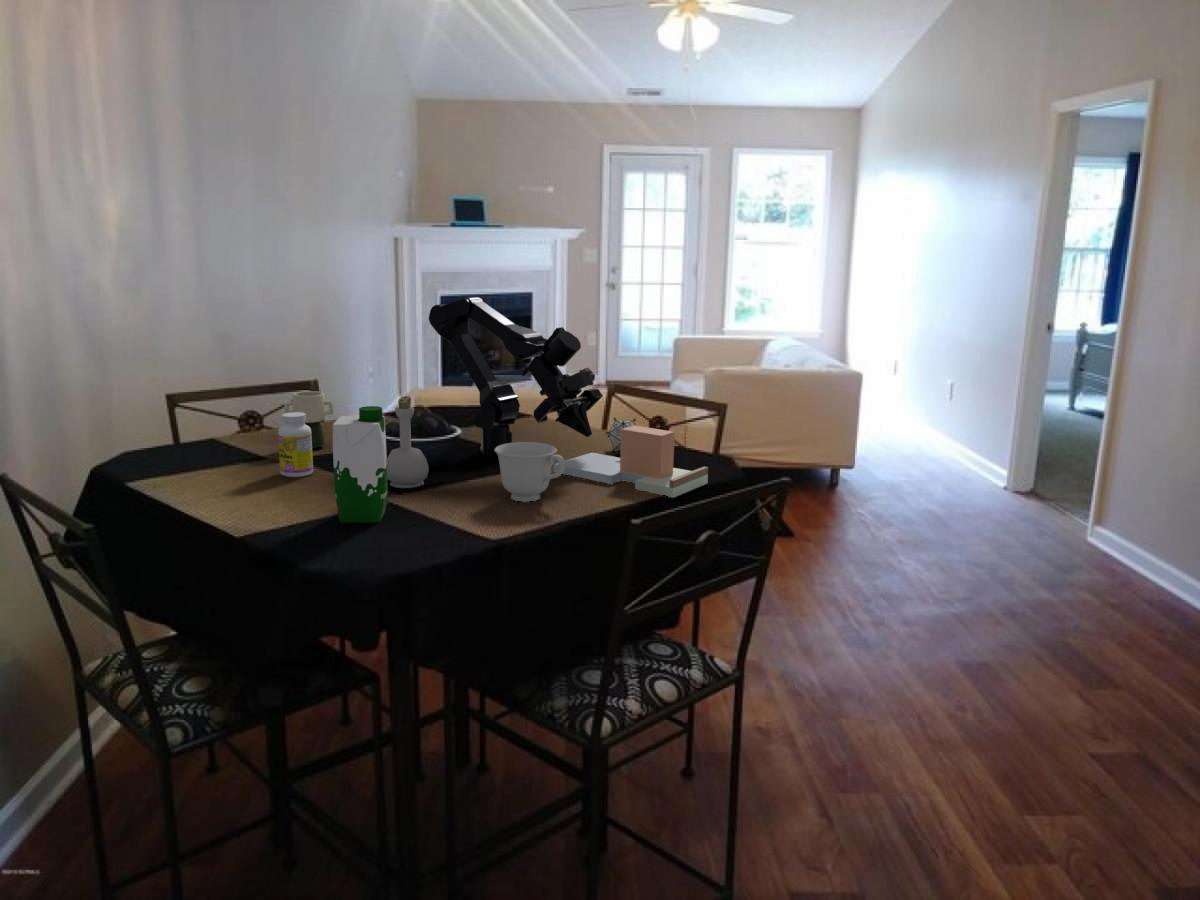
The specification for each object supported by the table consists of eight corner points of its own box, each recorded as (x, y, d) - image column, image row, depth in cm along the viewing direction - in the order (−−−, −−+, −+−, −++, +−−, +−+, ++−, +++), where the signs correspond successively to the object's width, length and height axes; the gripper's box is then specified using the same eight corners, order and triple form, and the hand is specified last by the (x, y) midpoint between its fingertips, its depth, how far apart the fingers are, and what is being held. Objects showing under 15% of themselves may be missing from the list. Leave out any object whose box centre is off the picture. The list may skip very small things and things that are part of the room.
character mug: (335, 443, 224) (333, 390, 221) (334, 450, 217) (331, 395, 214) (288, 445, 221) (285, 391, 218) (285, 452, 215) (282, 396, 212)
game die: (628, 464, 225) (651, 430, 225) (626, 460, 216) (650, 425, 217) (598, 444, 226) (621, 410, 227) (594, 439, 218) (619, 404, 218)
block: (619, 470, 196) (621, 429, 194) (633, 466, 200) (634, 425, 198) (660, 478, 191) (661, 435, 189) (672, 473, 195) (674, 431, 192)
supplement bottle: (274, 473, 196) (270, 413, 193) (303, 468, 201) (299, 409, 198) (290, 479, 192) (287, 418, 189) (319, 474, 196) (316, 414, 193)
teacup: (545, 513, 172) (545, 461, 170) (482, 500, 180) (481, 450, 178) (580, 498, 182) (581, 449, 180) (519, 486, 190) (519, 439, 188)
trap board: (553, 473, 201) (553, 457, 200) (591, 461, 212) (591, 446, 211) (673, 497, 184) (673, 480, 183) (707, 483, 195) (708, 467, 195)
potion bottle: (436, 480, 193) (434, 395, 189) (414, 491, 185) (411, 402, 181) (399, 476, 196) (396, 392, 192) (376, 487, 188) (372, 399, 184)
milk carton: (384, 524, 165) (380, 413, 160) (332, 524, 164) (326, 412, 159) (391, 509, 173) (387, 403, 168) (341, 509, 172) (336, 403, 168)
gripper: (545, 361, 194) (586, 420, 190) (596, 352, 209) (636, 407, 205) (515, 393, 200) (555, 451, 197) (568, 383, 215) (605, 436, 212)
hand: (589, 435), depth 202 cm, fingers closed
